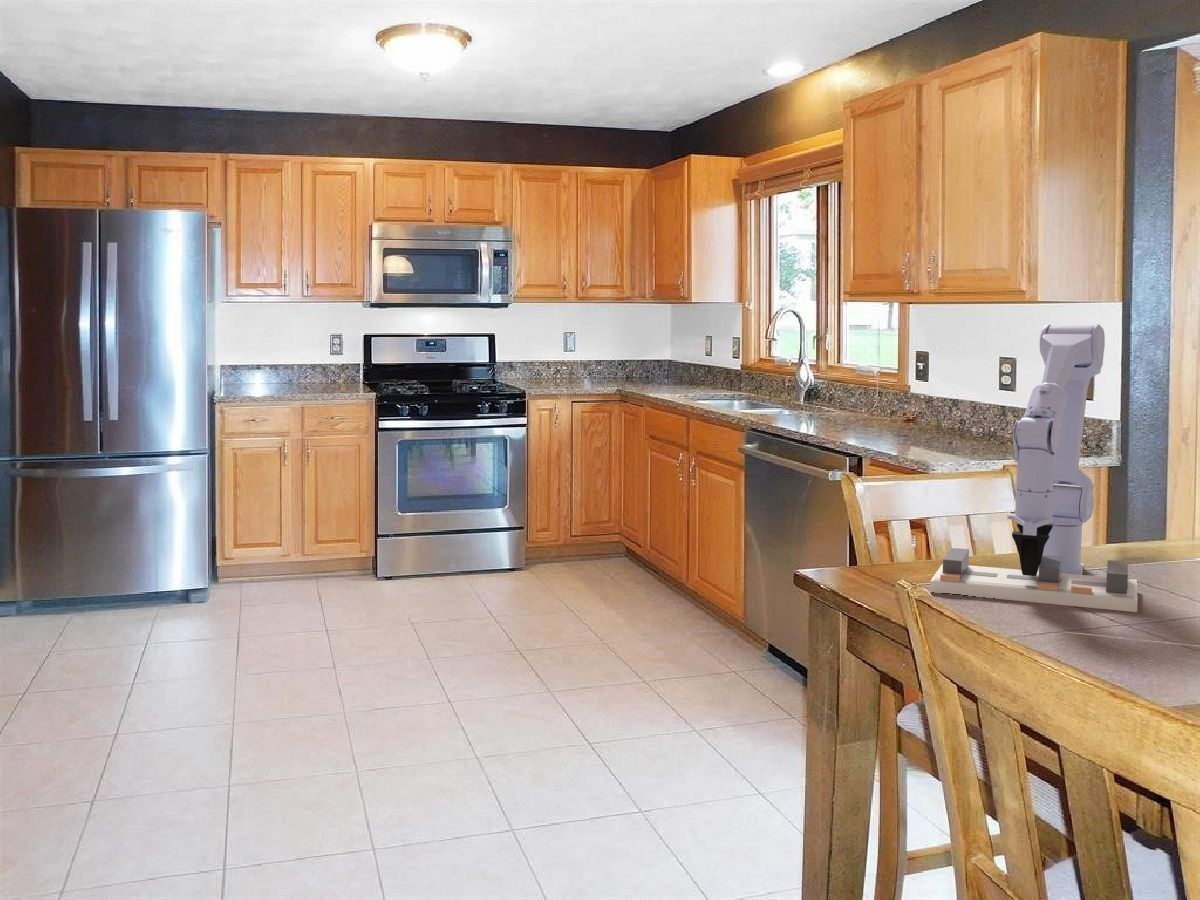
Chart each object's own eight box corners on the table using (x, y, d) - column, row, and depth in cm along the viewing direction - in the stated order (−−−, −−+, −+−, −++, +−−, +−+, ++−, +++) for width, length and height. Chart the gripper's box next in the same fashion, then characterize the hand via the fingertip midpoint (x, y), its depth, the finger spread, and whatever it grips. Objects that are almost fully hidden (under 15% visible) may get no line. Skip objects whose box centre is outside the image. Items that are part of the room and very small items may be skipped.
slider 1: (950, 564, 195) (951, 547, 195) (968, 566, 194) (969, 549, 194) (942, 576, 186) (942, 559, 186) (961, 578, 185) (961, 561, 185)
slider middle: (1042, 572, 189) (1043, 555, 189) (1061, 573, 188) (1062, 556, 187) (1038, 585, 180) (1039, 567, 180) (1058, 587, 179) (1059, 569, 178)
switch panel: (942, 574, 197) (942, 557, 197) (1136, 591, 184) (1137, 573, 184) (930, 592, 184) (930, 574, 184) (1137, 612, 171) (1138, 593, 171)
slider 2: (1106, 577, 185) (1107, 560, 184) (1126, 579, 183) (1127, 561, 183) (1105, 591, 176) (1106, 573, 175) (1126, 593, 174) (1127, 574, 174)
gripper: (1012, 482, 191) (1009, 559, 193) (1004, 494, 178) (1001, 577, 180) (1056, 484, 188) (1053, 562, 190) (1051, 497, 175) (1048, 581, 177)
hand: (1031, 570), depth 185 cm, fingers open, 7 cm apart
